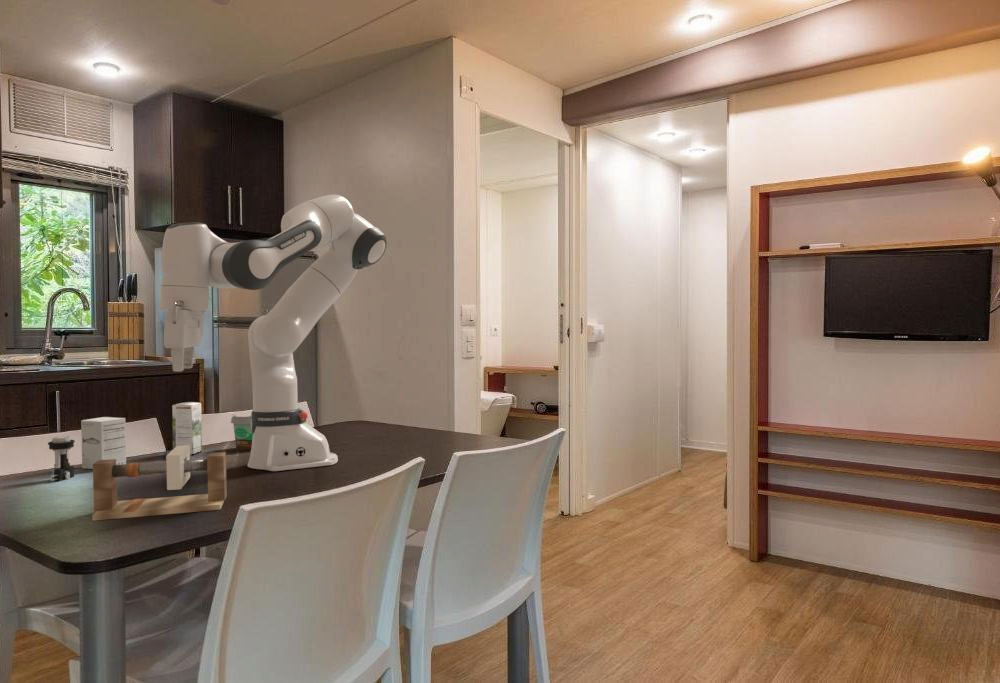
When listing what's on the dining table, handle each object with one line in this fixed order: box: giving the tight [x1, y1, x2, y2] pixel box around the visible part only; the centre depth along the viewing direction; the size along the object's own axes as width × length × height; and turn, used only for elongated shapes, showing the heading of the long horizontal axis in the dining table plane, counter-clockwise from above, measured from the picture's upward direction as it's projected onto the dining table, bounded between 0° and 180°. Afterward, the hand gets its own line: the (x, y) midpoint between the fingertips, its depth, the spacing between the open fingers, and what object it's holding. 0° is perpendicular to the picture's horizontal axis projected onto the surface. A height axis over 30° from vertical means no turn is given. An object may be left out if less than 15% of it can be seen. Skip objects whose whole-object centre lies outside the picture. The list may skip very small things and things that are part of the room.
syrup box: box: [171, 401, 203, 455], centre depth 188 cm, size 6×6×14 cm
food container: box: [230, 413, 253, 452], centre depth 194 cm, size 12×6×10 cm, turn 81°
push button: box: [47, 435, 75, 482], centre depth 158 cm, size 7×5×10 cm
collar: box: [165, 445, 191, 491], centre depth 131 cm, size 2×11×7 cm, turn 16°
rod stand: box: [91, 451, 228, 521], centre depth 130 cm, size 23×10×10 cm, turn 107°
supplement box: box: [80, 416, 127, 470], centre depth 172 cm, size 7×7×13 cm
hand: (182, 369), depth 134 cm, fingers open, 8 cm apart
